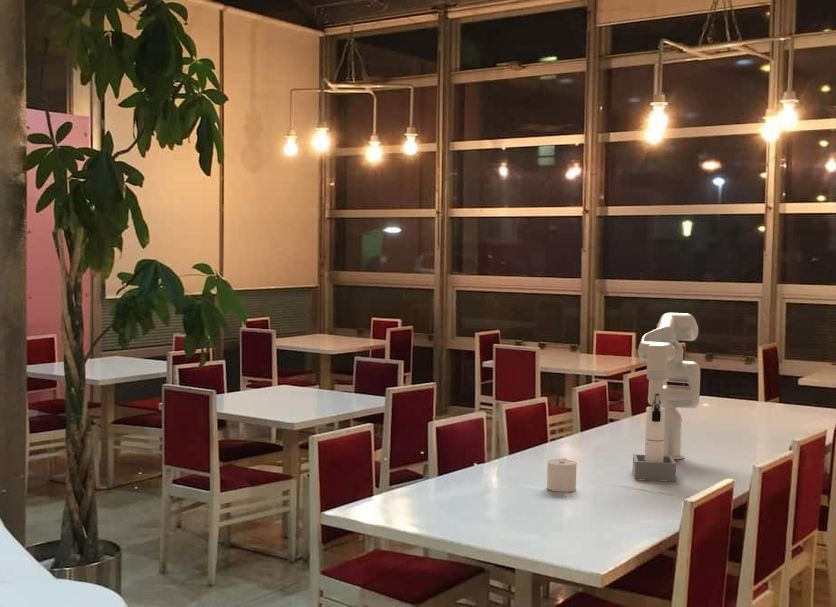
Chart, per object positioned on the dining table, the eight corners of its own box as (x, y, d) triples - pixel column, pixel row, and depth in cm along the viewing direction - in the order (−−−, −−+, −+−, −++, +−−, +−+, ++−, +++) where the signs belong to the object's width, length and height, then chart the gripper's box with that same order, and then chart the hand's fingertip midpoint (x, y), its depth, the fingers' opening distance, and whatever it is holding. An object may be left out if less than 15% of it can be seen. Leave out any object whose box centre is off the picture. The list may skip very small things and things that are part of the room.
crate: (632, 471, 386) (633, 454, 386) (671, 473, 383) (672, 456, 383) (634, 479, 371) (635, 461, 370) (675, 481, 368) (676, 463, 368)
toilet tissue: (553, 492, 346) (554, 465, 346) (540, 485, 358) (541, 459, 357) (580, 491, 349) (581, 464, 349) (567, 484, 360) (567, 458, 360)
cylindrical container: (655, 473, 372) (657, 410, 371) (640, 470, 378) (642, 407, 376) (666, 471, 377) (668, 408, 375) (651, 468, 382) (653, 406, 381)
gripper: (645, 372, 385) (643, 415, 385) (648, 377, 367) (647, 422, 368) (664, 373, 383) (663, 416, 384) (668, 378, 366) (667, 423, 367)
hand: (655, 419), depth 376 cm, fingers open, 7 cm apart
